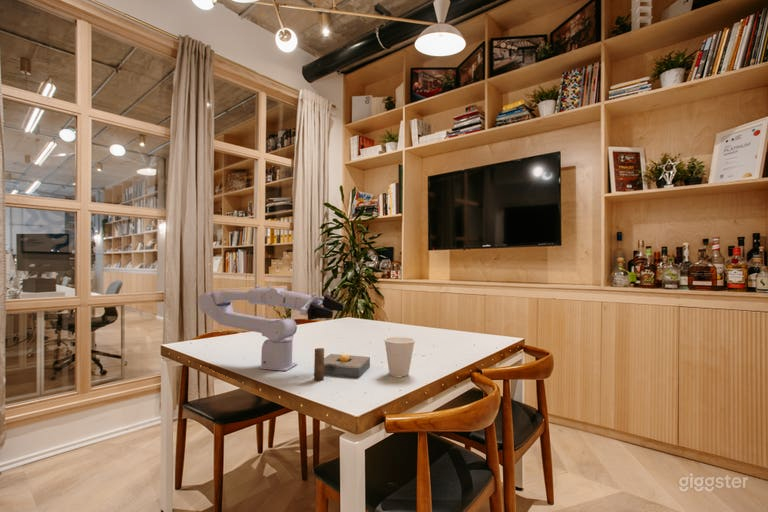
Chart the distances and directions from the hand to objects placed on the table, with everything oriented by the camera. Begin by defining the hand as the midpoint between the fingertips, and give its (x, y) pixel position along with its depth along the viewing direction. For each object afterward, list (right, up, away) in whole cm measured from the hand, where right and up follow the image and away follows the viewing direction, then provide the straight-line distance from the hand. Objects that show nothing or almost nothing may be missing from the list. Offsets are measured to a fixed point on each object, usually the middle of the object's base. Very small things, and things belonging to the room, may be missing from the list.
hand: (337, 311), depth 118 cm
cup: (+19, -20, 0) cm, 28 cm away
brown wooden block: (-5, -20, -6) cm, 21 cm away
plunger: (+2, -17, +4) cm, 18 cm away
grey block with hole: (+1, -20, +4) cm, 20 cm away
